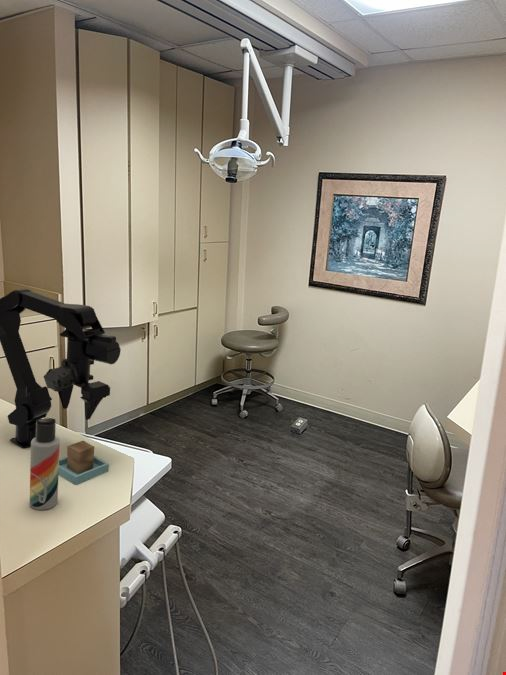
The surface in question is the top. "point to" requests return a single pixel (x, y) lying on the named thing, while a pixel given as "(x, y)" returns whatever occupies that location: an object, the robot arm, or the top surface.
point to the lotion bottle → (44, 465)
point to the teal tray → (75, 478)
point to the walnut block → (80, 457)
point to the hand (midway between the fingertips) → (76, 413)
